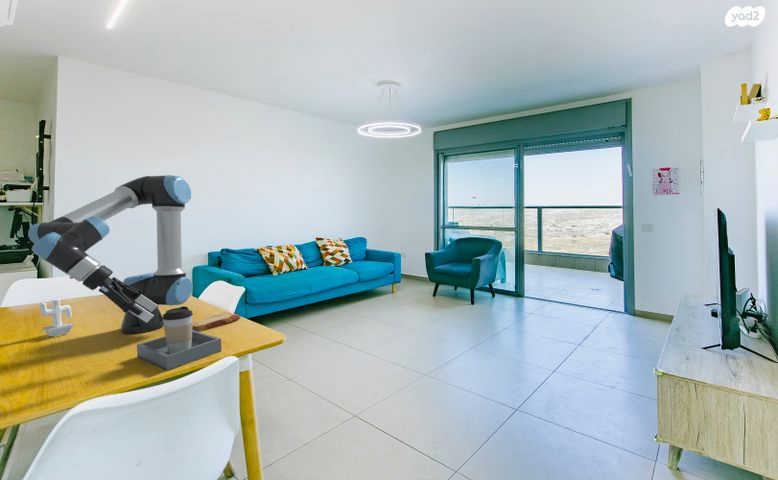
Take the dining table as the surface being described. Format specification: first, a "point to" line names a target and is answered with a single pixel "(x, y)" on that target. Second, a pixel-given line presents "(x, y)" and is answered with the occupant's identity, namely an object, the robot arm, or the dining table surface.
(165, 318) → the coffee cup
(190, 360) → the tray
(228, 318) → the slice of bread
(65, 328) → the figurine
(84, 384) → the dining table surface
